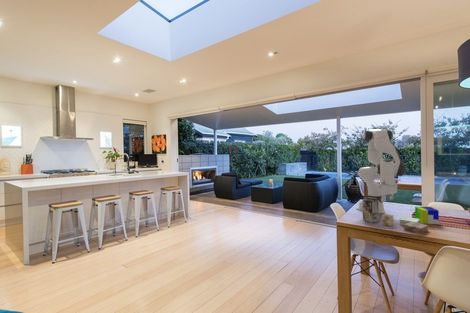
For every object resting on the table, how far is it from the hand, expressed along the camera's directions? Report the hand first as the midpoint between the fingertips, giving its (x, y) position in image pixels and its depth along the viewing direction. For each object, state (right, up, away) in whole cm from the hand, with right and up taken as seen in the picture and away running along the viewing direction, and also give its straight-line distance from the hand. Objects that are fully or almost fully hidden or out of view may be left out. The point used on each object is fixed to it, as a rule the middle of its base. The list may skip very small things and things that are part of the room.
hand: (387, 200), depth 170 cm
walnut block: (+11, -18, -12) cm, 25 cm away
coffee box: (-6, -18, +11) cm, 22 cm away
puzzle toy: (+31, -17, +4) cm, 36 cm away
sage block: (+16, -18, 0) cm, 24 cm away
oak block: (+1, -18, +1) cm, 18 cm away
